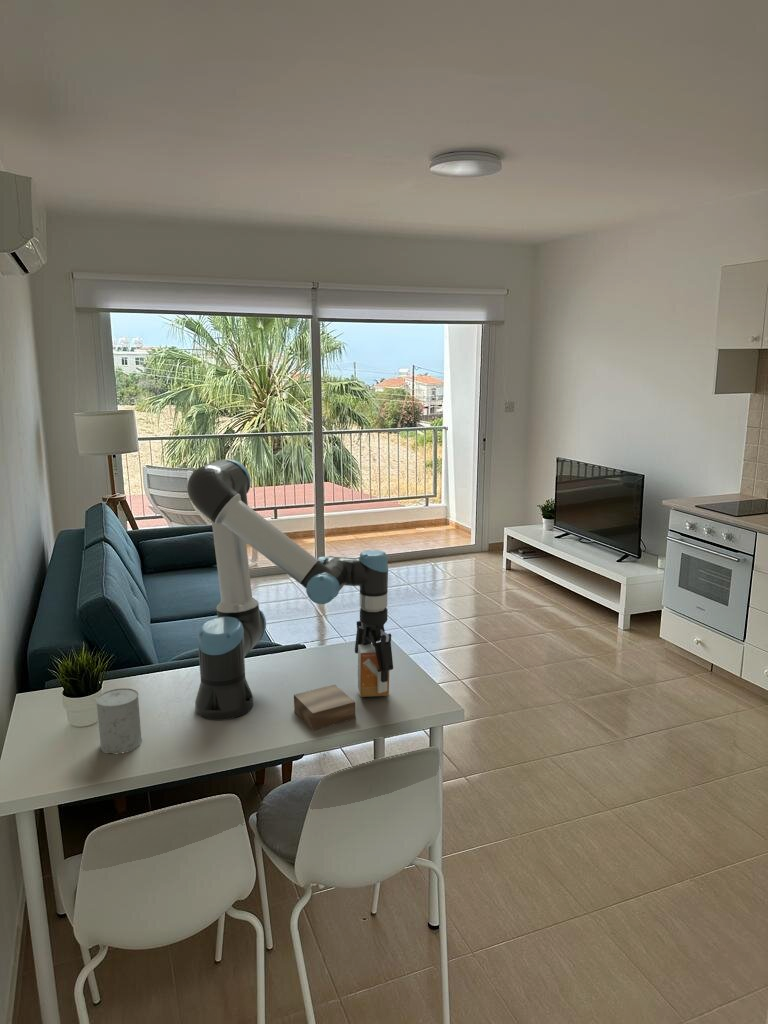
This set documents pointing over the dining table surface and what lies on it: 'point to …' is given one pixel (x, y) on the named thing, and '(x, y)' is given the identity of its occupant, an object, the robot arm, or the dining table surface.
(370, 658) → the small box
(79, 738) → the dining table surface
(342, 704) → the walnut block
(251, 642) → the robot arm
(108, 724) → the grey marble cylinder
